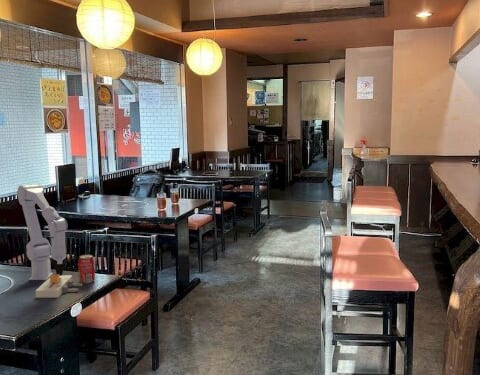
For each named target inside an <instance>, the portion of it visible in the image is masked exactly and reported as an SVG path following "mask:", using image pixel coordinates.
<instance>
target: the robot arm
mask: <svg viewBox="0 0 480 375" xmlns="http://www.w3.org/2000/svg"><path fill="white" fill-rule="evenodd" d="M44 190H45V189H44V188H43V186H42V184H40V183H37V184H28V185H26V184H25V185H22V184H21V185H19V186H18V188H17V191H16V196H17V199H18V202H19V205H21V206H22V212H23V215H24V218H25V223H26V226H27V230H28V234H29V238H30V241H29V242H28V243H27V244H26V245H25V246H26V256H27V258H28V260H29V261H30V262H31V277H29V278H28V281H47V280H48V279H49V278H50V275H51V274H54V273H53V272H52V269H51V267H52V266H51V262H52V265H53V266H54V269H55V274H59V276H62V275H63V273H64V266H65V264H66V263H67V260H66V257H67V254H66V231H67V229H68V227H69V226H68V221H67V220H66V218H64V217H62V216H60V214H58V212H57V211H56V209H55V208H54V206H50V204H49V202H48V201H47V199H46V198H45V196H44ZM35 205H37V206H38V207H39V208H40V210H42V212H41V215H42V217H43V218H44V220H45V221H46V223H47V224H48V225H47V229H48V231H49V236H50V237H51V238H50V239H51V241H50V242H51V244H50V242H49V240H48V239H47V238H45V237H43V234H42V230H41V226H40V222H39V218H38V215H37V211H36V206H35ZM51 259H52V260H51Z"/></svg>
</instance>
